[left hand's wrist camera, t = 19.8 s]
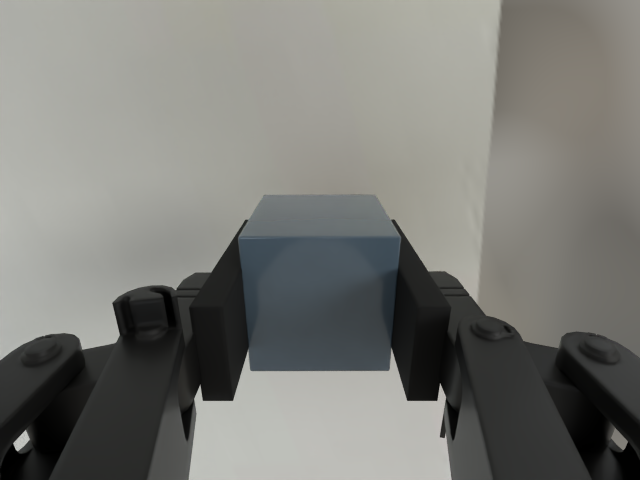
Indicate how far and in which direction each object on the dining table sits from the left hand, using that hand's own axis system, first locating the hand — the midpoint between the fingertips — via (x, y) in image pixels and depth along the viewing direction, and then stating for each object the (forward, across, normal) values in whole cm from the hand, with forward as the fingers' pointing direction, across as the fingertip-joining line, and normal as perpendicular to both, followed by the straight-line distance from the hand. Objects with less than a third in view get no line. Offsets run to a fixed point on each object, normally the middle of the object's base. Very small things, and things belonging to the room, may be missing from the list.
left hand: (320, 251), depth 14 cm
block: (0, 0, 0) cm, 0 cm away
